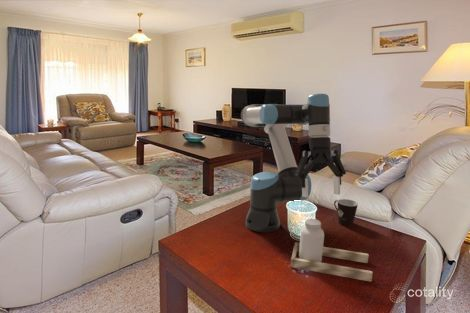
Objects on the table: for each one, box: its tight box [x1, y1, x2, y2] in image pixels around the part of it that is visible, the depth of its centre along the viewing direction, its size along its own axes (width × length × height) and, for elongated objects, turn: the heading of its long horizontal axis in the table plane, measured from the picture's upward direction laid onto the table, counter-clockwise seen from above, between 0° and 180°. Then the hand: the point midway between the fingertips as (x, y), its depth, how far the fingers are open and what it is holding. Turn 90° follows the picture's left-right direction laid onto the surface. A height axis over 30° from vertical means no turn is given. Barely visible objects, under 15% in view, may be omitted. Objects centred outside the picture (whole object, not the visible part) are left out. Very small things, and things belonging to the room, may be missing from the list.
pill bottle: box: [298, 218, 325, 263], centre depth 109 cm, size 8×8×15 cm
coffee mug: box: [333, 198, 359, 227], centre depth 142 cm, size 12×9×10 cm
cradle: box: [290, 241, 373, 283], centre depth 108 cm, size 26×12×3 cm, turn 73°
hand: (321, 195), depth 113 cm, fingers open, 13 cm apart
